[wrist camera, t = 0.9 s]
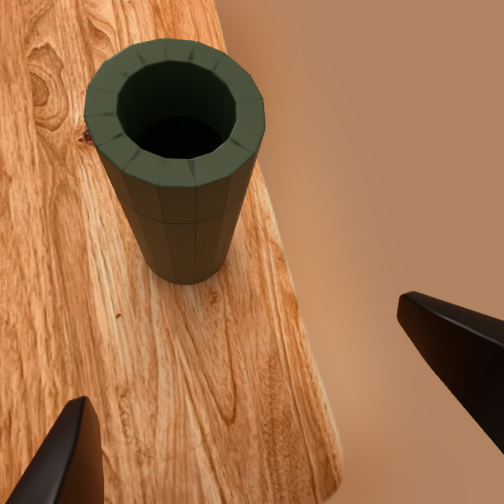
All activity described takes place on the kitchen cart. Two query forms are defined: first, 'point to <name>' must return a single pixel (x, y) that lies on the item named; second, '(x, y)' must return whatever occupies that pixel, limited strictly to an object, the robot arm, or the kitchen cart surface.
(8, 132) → the kitchen cart surface
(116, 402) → the kitchen cart surface
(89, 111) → the hollow cylinder
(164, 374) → the kitchen cart surface
